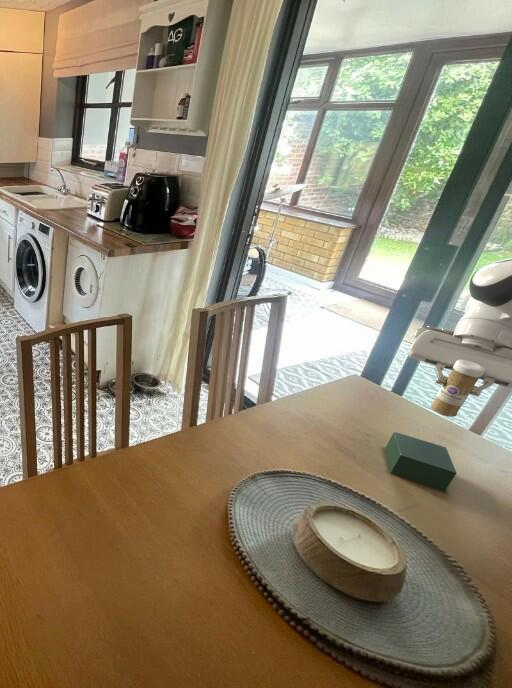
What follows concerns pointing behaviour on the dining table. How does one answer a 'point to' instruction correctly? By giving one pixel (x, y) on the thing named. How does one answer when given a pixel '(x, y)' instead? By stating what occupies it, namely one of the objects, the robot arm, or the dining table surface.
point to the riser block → (420, 461)
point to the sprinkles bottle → (457, 387)
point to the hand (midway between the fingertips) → (456, 389)
